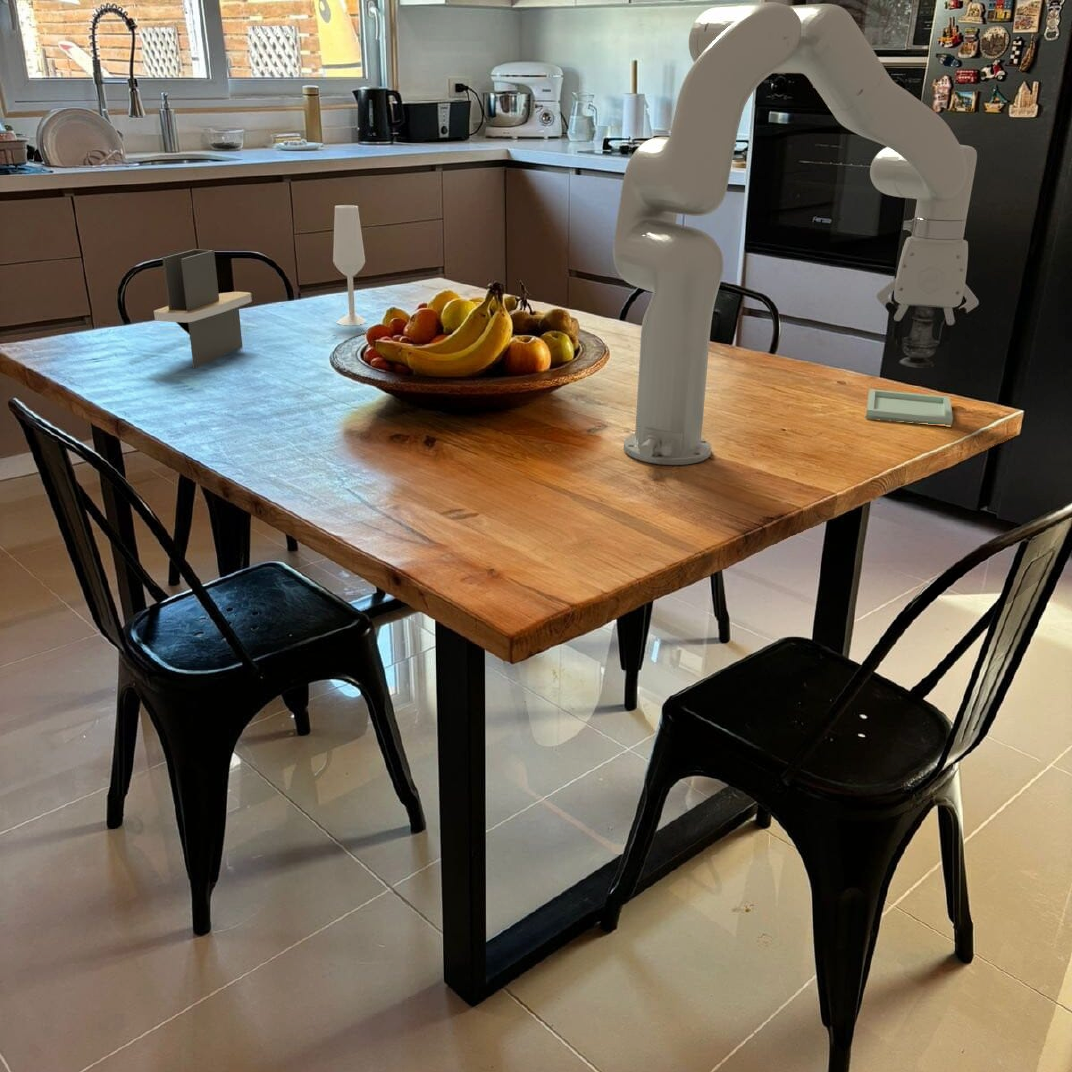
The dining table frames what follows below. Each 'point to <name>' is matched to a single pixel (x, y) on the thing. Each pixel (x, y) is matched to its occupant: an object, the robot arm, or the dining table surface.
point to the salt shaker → (920, 339)
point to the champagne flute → (348, 253)
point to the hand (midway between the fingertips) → (919, 345)
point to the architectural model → (201, 305)
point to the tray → (909, 407)
